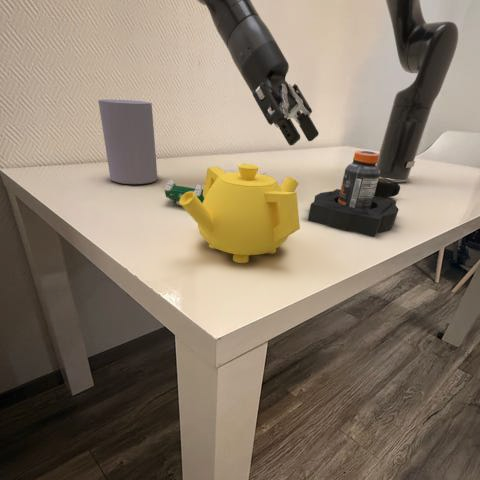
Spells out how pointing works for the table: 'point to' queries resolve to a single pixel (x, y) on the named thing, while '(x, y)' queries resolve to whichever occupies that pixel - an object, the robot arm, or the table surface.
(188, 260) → the table surface
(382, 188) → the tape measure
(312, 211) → the socket pad
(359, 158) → the pill bottle
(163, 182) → the table surface
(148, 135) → the container
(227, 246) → the teapot
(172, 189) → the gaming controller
